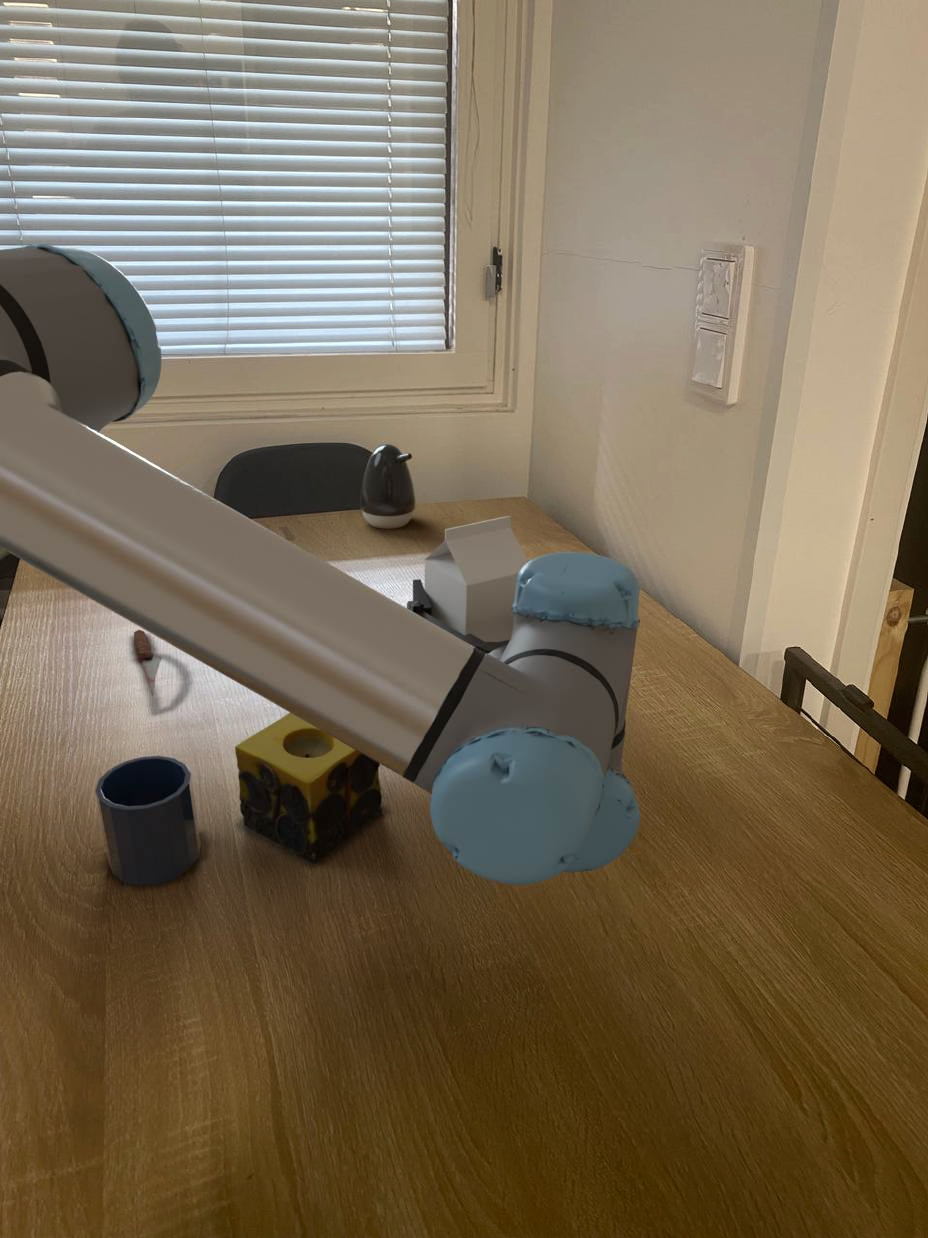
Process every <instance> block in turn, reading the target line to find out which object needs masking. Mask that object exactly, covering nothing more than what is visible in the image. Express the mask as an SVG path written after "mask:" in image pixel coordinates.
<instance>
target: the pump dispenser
mask: <svg viewBox="0 0 928 1238" xmlns="http://www.w3.org/2000/svg"><path fill="white" fill-rule="evenodd" d="M412 458H413V454H412V453H410V452H409V453H404V454H403V453H402V451H401V450H400V449H399V448H398V446H396V445H393V444H390V443H384V444H381V445H379V446H377V447H376V448H375V449H374V450H373V451H372V453H371V455H370V457H369V459H368V462H367V464H366V467H365V469H364V473H363V476H362V482H361V488H360V495H359V508H360V510H361V512H362V516H363V518H364V519H365V521H366V522H367V523H368V524H369V525H370V526H372V527H373V528H377V529H382V530H383V529H385V530H391V529H398V528H399V529H400V528H403V527H404V526H406V525H407V524H408V523H409V522H410V521H411V519H412V517H413V515H414V512H415V510H416V508H417V501H416V493H415V492H416V491H415V486H414V482H413V478H412V475H411V471H410V468H409V465H408V463H407V461H409V460H412Z"/></svg>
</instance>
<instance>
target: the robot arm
mask: <svg viewBox="0 0 928 1238" xmlns="http://www.w3.org/2000/svg"><path fill="white" fill-rule="evenodd" d="M162 362H163V361H162V347H161V346H160V344H159V340H158V335H157V326H156V323H155V320H154V318H153V315H152V313H151V311H150V308H149V307H148V305H147V302H146V301H145V300H144V298H143V296H142V295H141V293H140V292H139V291H138V289H137V288H136V287H135V285H134V284H133V283H132V282H131V280H129V278H128V277H126V275H125V274H124V273H123V272H122V271H121V270H119V268H117V267H116V266H114V265H113V264H112V263H110V262H109V261H108V260H106V259H105V258H103V257H101V256H99V255H97V254H95V253H93V252H90V251H88V250H86V249H85V250H84V249H82V248H79V247H71V246H70V247H69V246H53V245H50V244H44V243H37V244H29V245H25V246H23V247H13V248H3V249H0V549H2V550H4V551H6V552H7V553H9V554H11V555H13V556H15V557H16V558H18V559H20V560H22V561H24V562H25V563H27V564H28V565H30V566H32V567H34V568H35V569H37V570H39V571H41V572H42V573H44V574H46V575H47V576H49V577H51V578H53V579H55V580H56V581H59V583H62V584H63V585H65V586H67V587H69V588H71V589H72V590H74V591H76V592H78V593H79V594H81V595H83V596H85V597H86V598H88V599H90V600H91V601H93V602H95V603H97V604H99V605H101V606H102V607H104V608H106V609H107V610H109V611H110V612H113V613H114V614H116V615H118V616H120V617H122V618H123V619H125V620H126V621H129V622H131V623H132V624H134V625H136V626H138V627H139V628H141V629H143V630H144V631H146V632H148V633H149V634H152V635H153V636H155V637H157V638H158V639H160V640H162V641H164V642H165V643H167V644H169V645H171V646H173V647H174V648H176V649H178V650H180V651H181V652H183V653H185V654H186V655H188V656H189V657H191V658H193V659H195V660H196V661H199V662H201V663H202V664H203V665H206V666H207V667H210V668H211V669H213V670H215V671H216V672H218V673H220V674H222V675H223V676H225V677H226V678H229V679H231V680H232V681H233V682H236V683H238V684H239V685H241V686H242V687H244V688H246V689H248V690H250V691H251V692H253V693H255V694H257V695H258V696H260V697H262V698H264V699H266V700H267V701H269V702H270V703H273V704H274V705H276V706H277V707H279V708H282V709H283V710H285V711H287V712H288V713H292V714H294V715H295V716H297V717H299V718H301V719H302V720H304V721H306V722H308V723H309V724H311V725H313V726H315V727H316V728H318V729H320V730H322V731H323V732H325V733H327V734H329V735H330V736H332V737H334V738H336V739H337V740H339V741H341V742H343V743H344V744H346V745H348V746H350V747H352V748H353V749H355V750H357V751H359V752H360V753H362V754H364V755H366V756H367V757H369V758H371V759H373V760H374V761H376V762H378V763H380V766H381V765H382V766H383V767H385V768H387V769H388V770H390V771H391V772H393V773H395V774H397V775H399V776H401V777H402V778H403V779H406V780H407V781H409V782H411V783H412V784H414V785H415V786H417V787H419V788H420V789H422V790H423V791H425V792H427V793H428V794H430V795H431V798H430V805H429V812H430V813H429V814H430V820H431V825H432V828H433V831H434V833H435V835H436V836H437V838H438V840H439V842H440V843H442V844H443V845H444V847H445V848H446V849H447V851H449V852H450V854H452V858H453V860H454V861H455V862H456V863H457V864H459V865H460V866H461V867H463V868H465V870H466V871H468V872H470V873H472V874H474V875H476V876H478V877H479V878H482V879H485V880H487V881H491V882H495V883H501V884H503V885H504V884H505V885H512V886H513V885H514V886H525V885H532V884H537V883H538V884H539V883H542V882H545V881H547V880H549V879H552V878H555V877H556V876H558V875H560V874H562V873H567V874H568V873H569V874H570V873H571V874H575V873H582V872H592V871H595V870H598V869H601V868H603V867H605V866H607V865H609V864H611V863H612V862H614V861H615V860H617V859H618V858H619V857H620V856H621V855H622V854H624V853H625V852H626V850H627V849H628V848H629V847H630V845H631V844H632V842H633V841H634V839H635V837H636V835H637V833H638V830H639V827H640V823H641V822H640V820H641V812H640V806H639V804H638V801H637V798H636V796H635V794H634V789H633V787H632V786H633V785H632V784H631V782H630V780H629V778H627V776H625V774H624V773H623V768H622V767H623V765H622V764H623V763H622V761H623V755H624V745H625V736H626V722H627V721H626V714H627V708H628V700H629V693H630V687H631V681H632V680H631V679H632V673H633V665H634V658H635V657H634V656H635V650H636V643H637V641H636V640H637V635H638V628H639V627H640V623H641V620H640V618H639V607H640V593H641V592H640V590H641V589H640V588H641V587H640V582H639V580H638V578H637V576H636V574H635V573H634V571H632V569H630V568H629V566H628V567H627V566H626V565H625V564H623V563H621V562H620V561H617V560H615V559H614V558H610V557H607V556H603V555H600V554H595V553H589V552H588V553H587V552H578V551H562V552H552V553H548V554H543V555H540V556H537V557H535V558H533V559H531V560H529V561H528V563H526V564H525V565H524V566H523V567H522V568H521V570H520V572H519V574H518V576H517V583H516V591H515V600H514V603H513V604H512V605H511V611H512V612H513V630H512V635H511V639H510V640H506V641H501V642H484V641H483V640H481V639H479V638H477V637H476V636H474V635H472V634H467V635H463V634H461V633H460V632H458V631H456V630H455V629H453V628H451V627H449V626H448V625H446V624H444V623H443V622H441V621H439V620H437V619H436V618H434V617H432V607H431V605H430V602H429V600H428V597H427V594H426V592H425V586H424V585H423V584H424V583H423V582H422V579H421V578H420V579H419V578H418V579H412V600H407V602H406V606H403V605H402V604H400V603H399V602H396V601H395V600H393V599H392V598H390V597H388V596H387V595H384V594H383V593H381V592H379V591H377V590H376V589H374V588H372V587H370V586H368V585H367V584H365V583H363V582H361V581H360V580H358V579H356V577H355V578H354V577H353V576H351V575H349V574H347V573H346V572H344V571H342V570H340V569H339V568H338V567H335V566H333V565H332V564H330V563H328V562H326V561H325V560H323V559H321V558H320V557H317V556H316V555H315V554H312V553H311V552H310V551H307V550H305V549H303V548H302V547H300V546H299V545H297V544H295V543H293V542H291V541H290V540H288V539H286V538H284V537H283V536H281V535H279V534H277V533H275V532H274V531H272V530H270V529H269V528H266V527H265V526H263V525H261V524H260V523H258V522H256V521H255V520H253V519H251V518H249V517H247V516H246V515H244V514H243V513H241V512H239V511H238V510H236V509H233V508H232V507H230V506H228V505H226V504H224V503H223V502H221V501H219V500H218V499H216V498H214V497H212V496H211V495H209V494H207V493H205V492H204V491H202V490H200V489H199V488H197V487H195V486H193V485H191V484H189V483H188V482H186V481H185V480H183V479H181V478H179V477H177V476H176V475H174V474H172V473H170V472H169V471H166V470H165V469H163V468H162V467H160V466H158V465H156V464H154V463H153V462H151V461H149V460H148V459H146V458H144V457H142V456H141V455H139V454H137V453H135V452H133V451H132V450H130V449H129V448H126V447H124V446H123V445H121V444H119V443H117V442H116V441H115V440H112V439H110V438H109V437H107V436H105V435H104V434H102V433H100V431H101V430H102V429H104V428H105V427H107V426H108V424H109V425H110V424H111V423H118V422H122V421H125V420H128V419H130V418H131V416H133V415H134V414H136V413H137V412H138V411H139V410H140V409H142V408H143V407H144V406H146V404H147V403H148V402H149V401H150V400H151V399H152V398H153V395H154V394H155V392H156V390H157V388H158V384H159V381H160V378H161V372H162Z"/></svg>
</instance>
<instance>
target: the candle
mask: <svg viewBox="0 0 928 1238" xmlns="http://www.w3.org/2000/svg"><path fill="white" fill-rule="evenodd" d="M234 750H235V757H236V766H237V769H238V775H237V777H238V784H239V801H240V804H239V810H240V811H239V812H240V814H241V815H242V817H243V818H242V820H243V823H242V824H243V825H244V827H248V828H249V829H250V830H252V831H254V832H255V833H257V834H259V835H261V836H263V837H266V838H267V839H269V840H271V841H272V842H274V843H276V844H278V845H280V846H281V847H283V849H284V850H285V851H287V852H289V853H291V854H293V855H297V856H298V857H300V858H302V859H303V860H305V861H307V862H308V863H309V864H312V865H316V864H317V862H319V861H320V860H322V859H323V858H325V857H326V856H328V854H330V853H331V852H332V851H335V850H336V849H337V848H338V847H339V846H341V845H342V844H343V842H345V841H347V840H349V838H350V837H352V836H354V835H355V834H356V832H358V831H359V830H360V829H361V828H362V827H363V826H365V825H366V824H367V823H368V822H370V821H372V820H374V819H375V818H377V817H378V816H381V815H382V812H383V808H382V806H381V805H382V801H383V795H382V790H381V789H382V788H381V781H380V774H379V769H380V766H381V764H380V763H378V762H376V761H374V760H373V759H371V758H369V757H367V756H366V755H364V754H362V753H360V752H359V751H357V750H355V749H353V748H352V747H350V746H348V745H346V744H344V743H343V742H341V741H339V740H337V739H336V738H334V737H332V736H330V735H329V734H327V733H325V732H323V731H322V730H320V729H318V728H316V727H315V726H313V725H311V724H309V723H308V722H306V721H304V720H302V719H301V718H299V717H297V716H295V715H294V714H292V713H290V712H288V713H287V714H285V715H284V716H282V717H281V718H279V719H277V720H276V721H275V722H273V723H271V724H269V725H268V726H267V727H265V728H263V729H260V731H258V732H256V733H255V734H252V735H251V736H249V737H247V738H246V739H244V740H242V742H239V743H238V744H237V745H235V746H234Z"/></svg>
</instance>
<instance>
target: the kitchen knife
mask: <svg viewBox="0 0 928 1238" xmlns="http://www.w3.org/2000/svg"><path fill="white" fill-rule="evenodd" d="M133 636H134V639H133V643H134V644H133V645H134V650H135V655H136V656H137V661H138V662H139V663H140V664H142V666H143V670H144V675H145V677H146V680H147V684H148V686H149V687H148V688H149V690H150V693H151V696H152V697H153V696H154V692H155V686H156V677H157V673H158V670H159V667H160V664H161V662H162V658H163V657H162V656H159V655H156V654H154V653H153V652H152V646H151V643H150V641H149V637H148V636H147V634H146V632H145V630H144V631H143V630H141V629H137V630H135V631H134V632H133Z"/></svg>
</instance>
